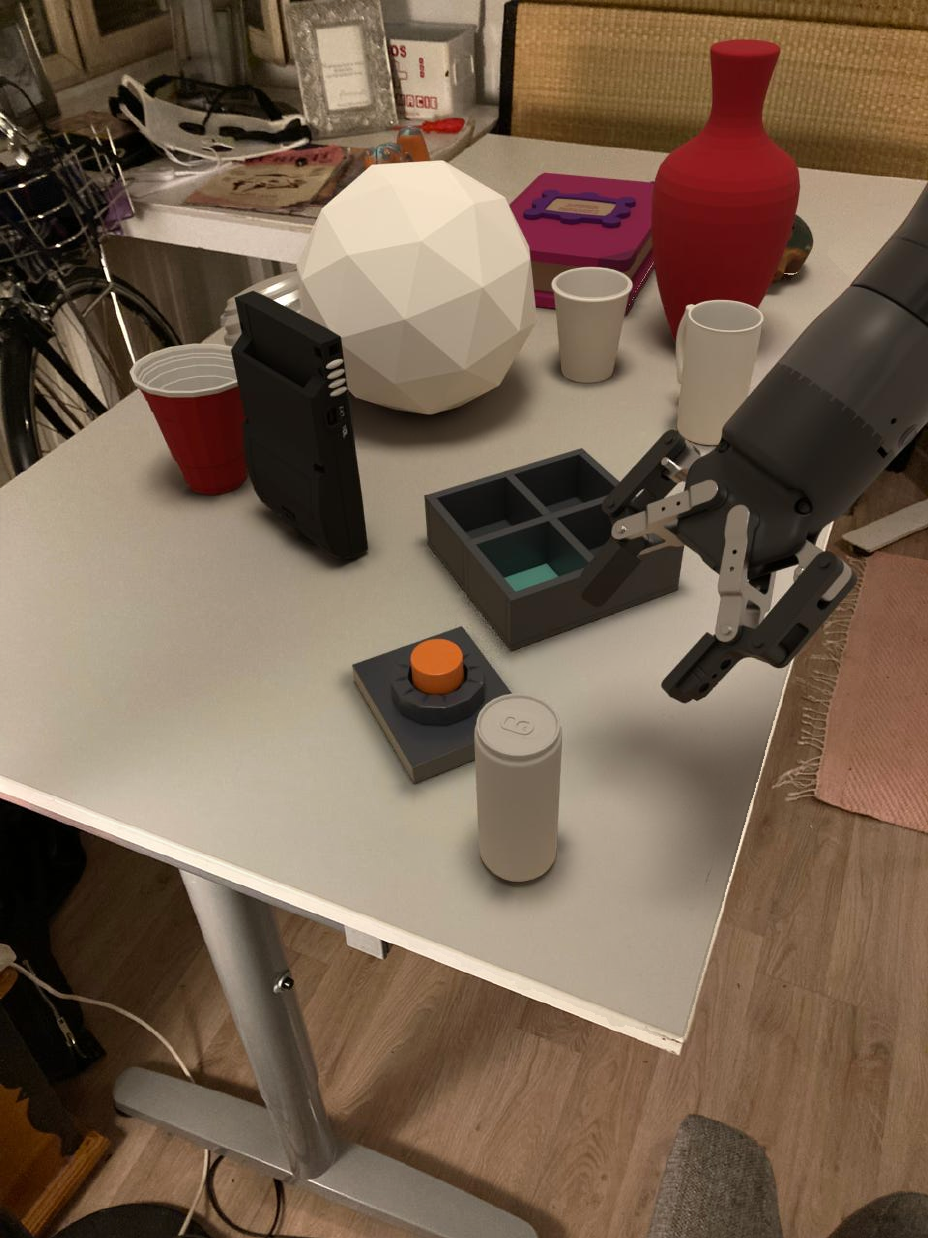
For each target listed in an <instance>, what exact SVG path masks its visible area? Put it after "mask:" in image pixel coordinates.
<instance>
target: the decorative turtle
mask: <svg viewBox="0 0 928 1238" xmlns="http://www.w3.org/2000/svg"><path fill="white" fill-rule="evenodd" d="M813 246H814V236H813V232H812V230H811V228H810V226H809V225H808V223H807V222H806V221H805V220H804V219H803V218H802V217H801V216H799V215H798V214H797V213H796V214H795V218H794V222H793V226H792V229H791V232H790V236H789V239H788V242H787V245H786V248H785V251H784V253H783V256H782V259H781V261H780V264H779V266H778V269H777V271H776V273H775V275H774V278H773V280H772V282H771V284H775V283H777V282H778V281H780V280H781V279H782V278H784V280H792V279H794V278H795V277H796V276H797V274H794V275H788V274H784V273H796V272H798V271H799V272H800V270H801V269H802V268H803V266H804V264H805V263H806V261H807V259H808V258H809V256H810V254H811V252H812V249H813ZM799 272H798V273H799Z"/></svg>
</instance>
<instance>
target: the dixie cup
mask: <svg viewBox="0 0 928 1238" xmlns="http://www.w3.org/2000/svg"><path fill="white" fill-rule="evenodd" d="M632 286H633V285H632V281H631V280H630V279H629V278H628V277H627V276H626V275H625V274H623V273H621V272H619V271H616V270H612V269H608V268H600V267H583V268H575V269H571V270H567V271H565V272H562V273H561V274H559V275H558V276H556V277H555V278H554V279H553V281H552V289H553V291H554V297H555V308H556V309H555V319H556V327H557V340H558V349H559V350H558V351H559V358H560V359H559V360H560V370H561V374H562V376H563V377H564V378H566V379H567V380H569V381H573V382H577V383H581V384H582V383H584V384H593V383H599V382H603V381H606V380H607V379H609V378H610V377H611V376H612V375H613V373H614V368H615V362H616V359H617V354H618V348H619V345H620V339H621V335H622V329H623V326H624V325H623V324H624V320H625V317H624V315H625V310H626V306H627V301H628V296H629V292H630V291H631V290H632Z"/></svg>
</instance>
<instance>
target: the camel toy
mask: <svg viewBox="0 0 928 1238" xmlns="http://www.w3.org/2000/svg"><path fill="white" fill-rule="evenodd" d="M425 161H431V158H430V153H429V150H428V146H427V143H426V140H425V137H424V134H423V132H422V130H421V129H420V128H419V127H417V126H413V125H408V126H404V127H402V128H400V129H399V131H398V133H397V136H396V142H391V141H390V142H389V141H388V142H385V143H381V144H379V145H378V146H372V147H368V148H367V149H365V152H364V171H365V170H366V169H368V168H369V167H370V166H371V165H377V164H393V163H409V162H425Z"/></svg>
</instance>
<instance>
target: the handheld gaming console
mask: <svg viewBox="0 0 928 1238" xmlns="http://www.w3.org/2000/svg"><path fill="white" fill-rule="evenodd" d="M234 298H235V303H236V308H237V313H238V318H239V323H240V328H241V335H240V337H239V338H238V340H237V341H236V343H235V344H234V346H233V347H232V349H231V354H232V358H233V363H234V368H235V373H236V378H237V383H238V387H239V392H240V397H241V402H242V407H243V415H244V416H246V421H244V422H243V445H244V454H245V463H246V467H247V475H248V477H249V479H250V482H251V485H252V488H253V490H254V492H255V493H256V495H257V497H258V499H259V500H260V502H261V503H262V504H264V505H265V506H266V507H267V508H269V509H270V510H272V511H273V512H275V513H276V514H277V515H278V516H279V517H280V518H281V519H282V520H283V521H285V522H286V523H287V524H288V525H289V526H290V528H291V530H292V532H293V533H294V535H295V537H297V538H298V539H300V540H301V541H303V542H305V543H308V544H312V545H315V546H316V547H319V548H320V549H322V550H323V551H324V552H325V553H327V554H329V555H331V556H333V557H334V558H337V559H340V560H341V561H344V560H348V559H350V558H352V559H354V558H355V557H358V556H359V555H361V554H363V553H365V552H366V551H368V550H369V543H368V534H367V525H366V517H365V516H366V515H365V508H364V500H363V492H362V484H361V477H360V470H359V464H358V456H357V450H356V449H357V448H356V441H355V434H354V427H353V426H354V425H353V419H352V411H351V403H350V396H349V390H348V387H347V380H346V372H345V364H344V356H343V348H342V340H341V336H339V335H338V334H336V333H334V332H333V331H331V330H329V329H328V328H326V327H324V326H322V325H320V324H318V323H316V322H314V321H312V320H310V319H308V318H307V317H305V316H303V315H301V314H299V313H297V312H295V311H293V310H291V309H289V308H287V307H286V306H284V305H282V304H280V303H278V302H276V301H274V300H272V299H270V298H268V297H266V296H264V295H262V294H260V293H258V292H255V291H251V292H248V293H245V294H243V295H240V296H237V297H234Z"/></svg>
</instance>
